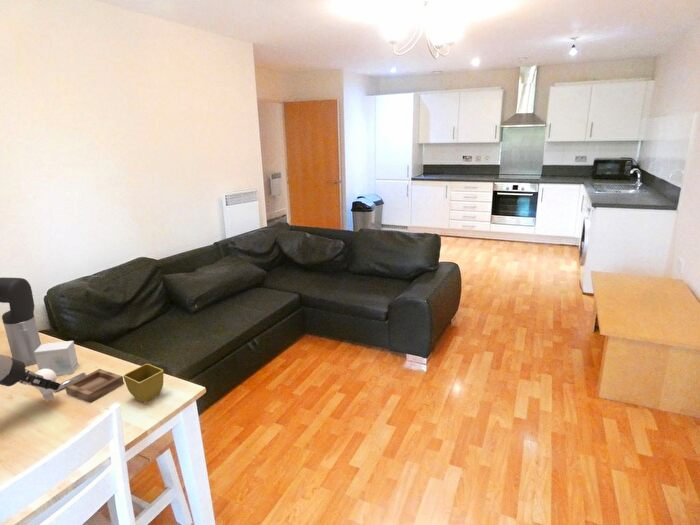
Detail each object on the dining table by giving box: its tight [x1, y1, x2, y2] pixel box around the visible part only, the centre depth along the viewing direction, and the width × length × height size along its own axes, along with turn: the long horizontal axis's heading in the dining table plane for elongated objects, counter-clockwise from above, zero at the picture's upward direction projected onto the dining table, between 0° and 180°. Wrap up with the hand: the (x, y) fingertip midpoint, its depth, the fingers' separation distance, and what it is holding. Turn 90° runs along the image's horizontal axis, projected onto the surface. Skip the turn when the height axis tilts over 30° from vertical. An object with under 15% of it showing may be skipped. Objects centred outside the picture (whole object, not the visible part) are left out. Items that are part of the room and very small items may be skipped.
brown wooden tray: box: [64, 368, 125, 404], centre depth 141 cm, size 12×12×3 cm
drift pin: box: [53, 372, 87, 393], centre depth 144 cm, size 11×2×2 cm, turn 155°
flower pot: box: [123, 363, 164, 403], centre depth 135 cm, size 9×9×9 cm
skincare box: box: [34, 340, 80, 377], centre depth 151 cm, size 10×6×10 cm, turn 104°
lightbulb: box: [34, 368, 57, 402], centre depth 132 cm, size 6×6×11 cm
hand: (51, 384), depth 134 cm, fingers closed on lightbulb, 6 cm apart
